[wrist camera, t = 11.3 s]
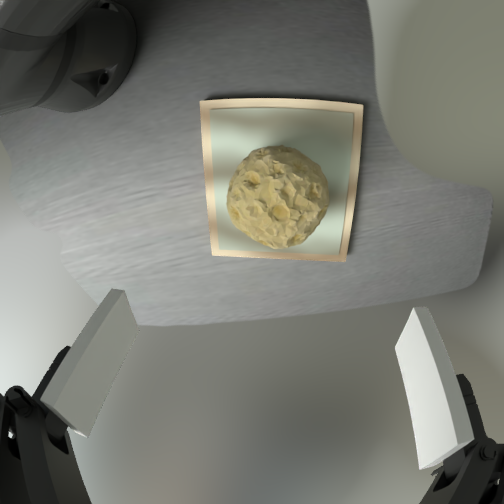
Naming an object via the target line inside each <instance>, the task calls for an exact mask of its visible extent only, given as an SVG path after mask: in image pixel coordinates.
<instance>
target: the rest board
mask: <svg viewBox="0 0 504 504" xmlns="http://www.w3.org/2000/svg"><path fill="white" fill-rule="evenodd" d="M200 113H201V131H202V147H203V161H204V174H205V187H206V198H207V209H208V220H209V230H210V240H211V250H212V255H214V256H233V257H253V258H274V259H295V260H316V261H338V262H345V261H346V255H347V250H348V244H349V238H350V232H351V226H352V219H353V212H354V205H355V197H356V189H357V181H358V171H359V161H360V150H361V137H362V121H363V105H360V104H352V103H343V102H334V101H323V100H309V99H287V98H243V99H221V100H206V101H200ZM280 145H284V146H285V147H291V148H292V149H293V148H295V149H297V150H299V151H300V152H301V153H303V154H305V155H306V156H307V157H309V158H310V159H311V160H312V161H313V162H315V163H317V164H318V165H320V166H321V169H322V172H323V174H324V175H325V177H326V179H327V181H328V189H329V198H330V203H329V206H328V208H327V212H326V215H325V216H324V218H323V219H322V220H321V222H320V225H318V226H317V227H316V229H315V231H314V232H313V233H312V234H311V235H310V236H308V238H307V239H306V240H305V241H304V242H303V243H302V244H300V245H296V246H291V247H288V248H283V249H273V248H271V247H269V246H265V245H263V244H261V243H259V242H257V241H255V240H253V239H252V238H251V237H249V236H248V235H246V234H245V233H243V232H242V231H241V230H239V229H237V228H236V227H235V225H233V223H232V221H231V219H230V216H229V214H228V211H227V206H226V202H227V197H226V196H227V192H228V188H229V182H230V180H231V178H232V176H233V175H234V172H235V171H236V169H237V166H238V165H239V164H240V163H241V162H242V161H243V159H244V158H246V157H247V156H248V155H249V154H250V152H251V151H253V150H254V149H255V150H256V149H259V148H262V147H267V146H280Z"/></svg>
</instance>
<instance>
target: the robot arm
mask: <svg viewBox="0 0 504 504" xmlns="http://www.w3.org/2000/svg"><path fill="white" fill-rule="evenodd" d="M136 42H137V33H136V26H135V22H134V20H133V17H132V16H131V14H130V12H129V11H128V10H127V9H126V8H125V7H123V6H122V5H120V4H118V3H115V2H112V1H110V0H0V116H3V115H6V114H9V113H13V112H16V111H20V110H23V109H27V108H31V107H35V106H38V107H42V108H47V109H51V110H55V111H59V112H65V113H71V112H78V111H83V110H87V109H90V108H93V107H95V106H97V105H99V104H101V103H102V102H104V101H105V100H106V99H107V98H108V97H110V96H111V95H112V94H113V93H114V92H115V90H116V89H117V88H118V87H119V85H120V84H121V83H122V81H123V79H124V78H125V76H126V74H127V72H128V70H129V68H130V66H131V63H132V61H133V57H134V54H135V49H136ZM138 333H139V328H138V325H137V323H136V320H135V318H134V315H133V313H132V310H131V307H130V305H129V302H128V299H127V296H126V294H125V291H124V290H118V289H111V290H110V292H109V293H108V294H107V296H106V297H105V298H104V300H103V301H102V303H101V304H100V305H99V307H98V308H97V310H96V311H95V313H94V314H93V315H92V317H91V318H90V320H89V321H88V323H87V324H86V326H85V327H84V328H83V330H82V331H81V333H80V334H79V336H78V337H77V339H76V341H75V342H74V344H73V345H72V347H70V346H66V347H65V348H64V349H62V350H61V351H60V352H59V353H58V355H57V356H56V358H55V360H54V361H53V363H52V364H51V366H50V367H49V370H48V371H47V372H46V374H45V376H44V377H43V379H42V381H41V382H40V384H39V386H38V388H37V389H36V391H35V393H34V394H33V396H32V397H31V396H30V395H29V394H28V393H27V392H26V391H25V390H24V389H23V388H22V387H21V386H13V387H11V388H9V389H8V391H7V392H6V394H5V396H2V394H1V393H0V504H92V503H91V501H90V498H89V496H88V493H87V491H86V488H85V485H84V483H83V480H82V477H81V474H80V471H79V468H78V465H77V462H76V458H75V455H74V451H73V448H72V444H71V440H70V437H69V433H68V431H67V427H68V426H69V427H70V428H71V429H72V430H73V431H75V432H76V433H79V434H80V435H82V436H85V437H87V438H88V437H89V435H90V433H91V430H92V428H93V426H94V424H95V421H96V419H97V417H98V414H99V412H100V410H101V408H102V406H103V403H104V401H105V399H106V397H107V395H108V393H109V391H110V389H111V387H112V384H113V382H114V380H115V378H116V376H117V374H118V372H119V370H120V368H121V366H122V364H123V361H124V360H125V358H126V356H127V354H128V352H129V350H130V348H131V346H132V344H133V342H134V340H135V339H136V336H137V335H138ZM395 350H396V354H397V357H398V361H399V365H400V368H401V372H402V377H403V381H404V385H405V389H406V394H407V398H408V403H409V408H410V413H411V418H412V423H413V429H414V435H415V441H416V447H417V454H418V462H419V469H424V468H428V467H431V466H435V465H437V464H438V463H440V462H442V461H443V466H441V467H439V468H438V469H436V470H434V471H433V473H432V474H431V475H432V476H433V475H434V474H437V473H438V474H437V476H436V478H435V479H434V481H433V483H432V485H431V486H430V488H429V490H428V491H427V493H426V494H425V496H424V497H423V499H422V501H421V502H420V503H419V504H504V444H496V442H495V441H494V440H493V439H491V438H488V437H487V436H486V433H485V431H484V426H483V422H482V419H481V415H480V412H479V409H478V405H477V404H476V399H475V396H474V395H473V390H472V387H471V384H470V382H469V381H468V380H467V378H466V377H465V376H464V374H459V375H455V372H454V369H453V367H452V364H451V361H450V358H449V356H448V353H447V351H446V348H445V346H444V343H443V341H442V338H441V336H440V334H439V332H438V329H437V327H436V325H435V322H434V320H433V318H432V316H431V314H430V312H429V310H428V307H414V308H413V310H412V312H411V314H410V317H409V319H408V321H407V324H406V326H405V328H404V330H403V332H402V334H401V336H400V338H399V340H398V343H397V344H396V346H395ZM9 432H11V433H12V434H13V436H12V438H10V437H8V434H9ZM498 479H500V480H499V485H498V484H497V481H498Z"/></svg>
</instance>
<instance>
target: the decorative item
mask: <svg viewBox="0 0 504 504" xmlns="http://www.w3.org/2000/svg"><path fill="white" fill-rule="evenodd" d="M226 197H227V202H226V206H227V211H228V214H229V216H230V219H231V221H232V223H233V225H235V227H236V228H237V229H239V230H241V231H242V232H243V233H245V234H246V235H248V236H249V237H251V238H252V239H253V240H255V241H257V242H259V243H261V244H263V245H265V246H269V247H271V248H273V249H283V248H288V247H291V246H296V245H300V244H302V243H303V242H304V241H305V240H306V239H307V238H308V236H310V235H311V234H312V233H313V232H314V231H315V229H316V227H317V226H318V225H320V222H321V220H322V219H323V218H324V216H325V215H326V212H327V208H328V206H329V203H330V198H329V189H328V181H327V179H326V177H325V175H324V174H323V172H322V169H321V166H320V165H318V164H317V163H315V162H313V161H312V160H311V159H310V158H309V157H307V156H306V155H305V154H303V153H301V152H300V151H299V150H297V149H295V148H293V149H292V148H291V147H285V146H284V145H280V146H267V147H262V148H259V149H256V150H255V149H254V150H253V151H251V152H250V154H249V155H248V156H247V157H246V158H244V159H243V161H242V162H241V163H240V164H239V165H238V166H237V169H236V171H235V172H234V175H233V176H232V178H231V180H230V182H229V188H228V192H227V196H226Z"/></svg>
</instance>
